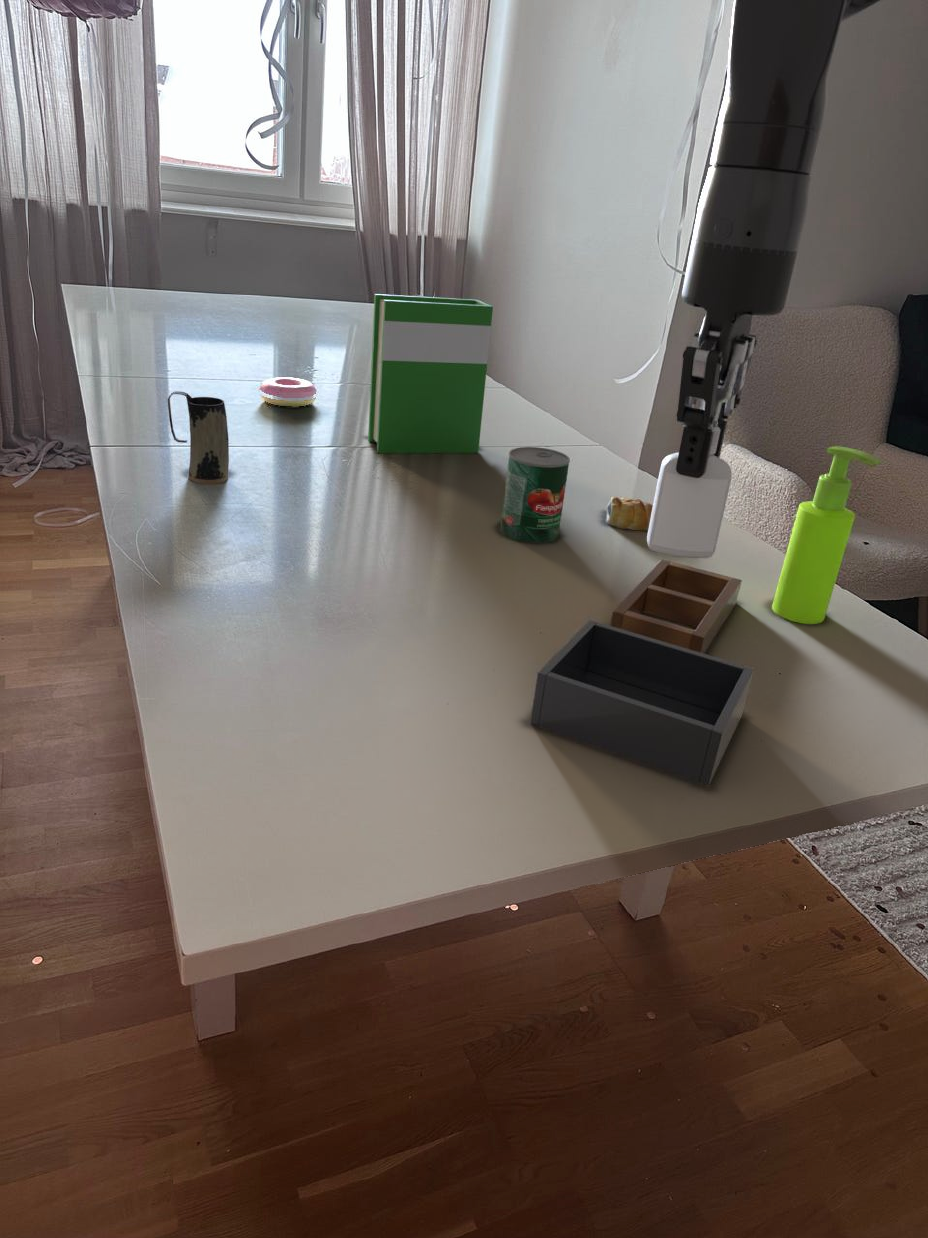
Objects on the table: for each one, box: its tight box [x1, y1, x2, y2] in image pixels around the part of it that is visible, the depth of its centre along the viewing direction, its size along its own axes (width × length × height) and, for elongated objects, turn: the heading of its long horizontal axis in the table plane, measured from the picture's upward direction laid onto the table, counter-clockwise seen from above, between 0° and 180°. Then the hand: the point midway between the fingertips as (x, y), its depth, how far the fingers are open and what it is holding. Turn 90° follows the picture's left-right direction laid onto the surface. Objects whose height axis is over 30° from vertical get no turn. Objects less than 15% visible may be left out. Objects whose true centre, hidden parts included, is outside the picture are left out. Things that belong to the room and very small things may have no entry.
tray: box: [609, 558, 742, 654], centre depth 99 cm, size 10×18×4 cm, turn 152°
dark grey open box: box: [529, 619, 755, 788], centre depth 78 cm, size 16×13×6 cm
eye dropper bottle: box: [646, 426, 733, 559], centre depth 73 cm, size 4×6×12 cm
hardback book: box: [367, 293, 494, 454], centre depth 149 cm, size 18×7×24 cm, turn 108°
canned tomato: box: [500, 446, 571, 544], centre depth 117 cm, size 8×8×11 cm
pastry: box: [605, 496, 653, 531], centre depth 126 cm, size 9×7×4 cm
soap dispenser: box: [771, 445, 884, 625], centre depth 99 cm, size 6×7×20 cm
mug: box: [167, 390, 230, 485], centre depth 126 cm, size 8×6×12 cm
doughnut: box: [259, 376, 318, 408], centre depth 172 cm, size 11×11×4 cm
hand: (697, 467), depth 72 cm, fingers closed on eye dropper bottle, 4 cm apart
